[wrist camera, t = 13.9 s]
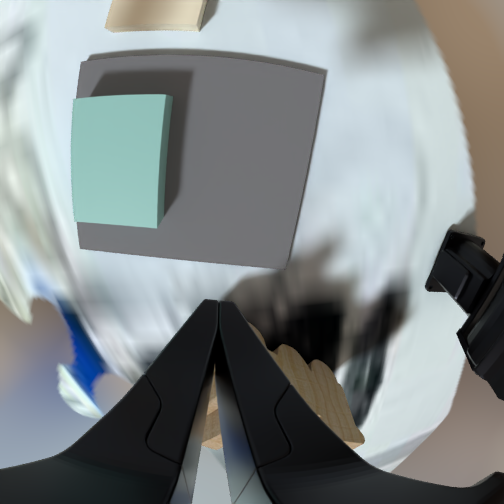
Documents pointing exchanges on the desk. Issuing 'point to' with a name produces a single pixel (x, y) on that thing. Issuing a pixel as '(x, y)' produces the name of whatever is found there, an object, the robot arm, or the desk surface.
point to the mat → (217, 156)
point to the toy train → (309, 387)
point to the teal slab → (120, 158)
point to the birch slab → (155, 15)
